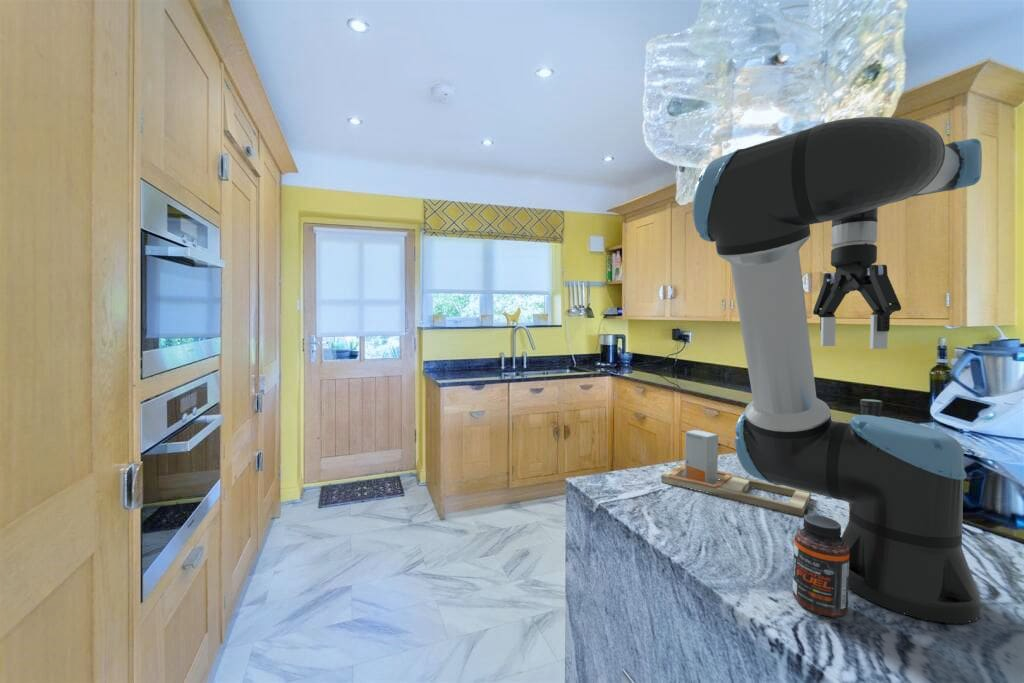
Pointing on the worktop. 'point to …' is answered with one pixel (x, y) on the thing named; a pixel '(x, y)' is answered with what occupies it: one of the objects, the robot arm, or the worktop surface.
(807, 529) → the supplement bottle
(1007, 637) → the worktop surface
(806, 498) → the socket rail
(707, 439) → the skincare box
